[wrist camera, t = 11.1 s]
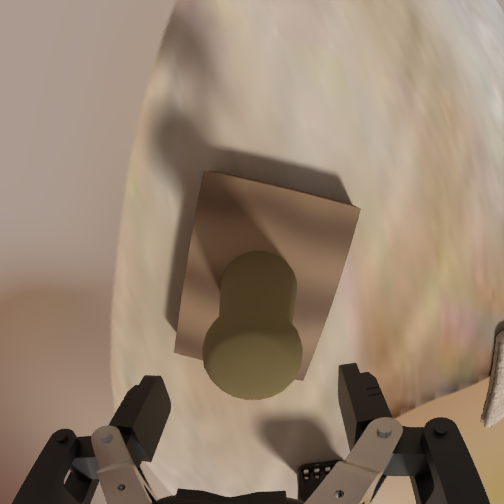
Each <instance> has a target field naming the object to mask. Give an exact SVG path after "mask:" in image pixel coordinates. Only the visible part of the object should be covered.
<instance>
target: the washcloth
mask: <svg viewBox="0 0 504 504" xmlns="http://www.w3.org/2000/svg"><path fill="white" fill-rule="evenodd" d="M494 351H495V352H494V358H493V365H492V371H491V376H490V382H489V387H488V388H489V389H488V393H487V397H486V401H485V404H484V408H483V413H482V415H481V420H480V421H481V422H482V423H484V427H492V426H493V425H494V424H495V423H497V422H498V421H499V420H500V419H502V418H504V330H503V331H501V332H500V333H499V334H498V335H497V336H496V344H495V349H494Z"/></svg>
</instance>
